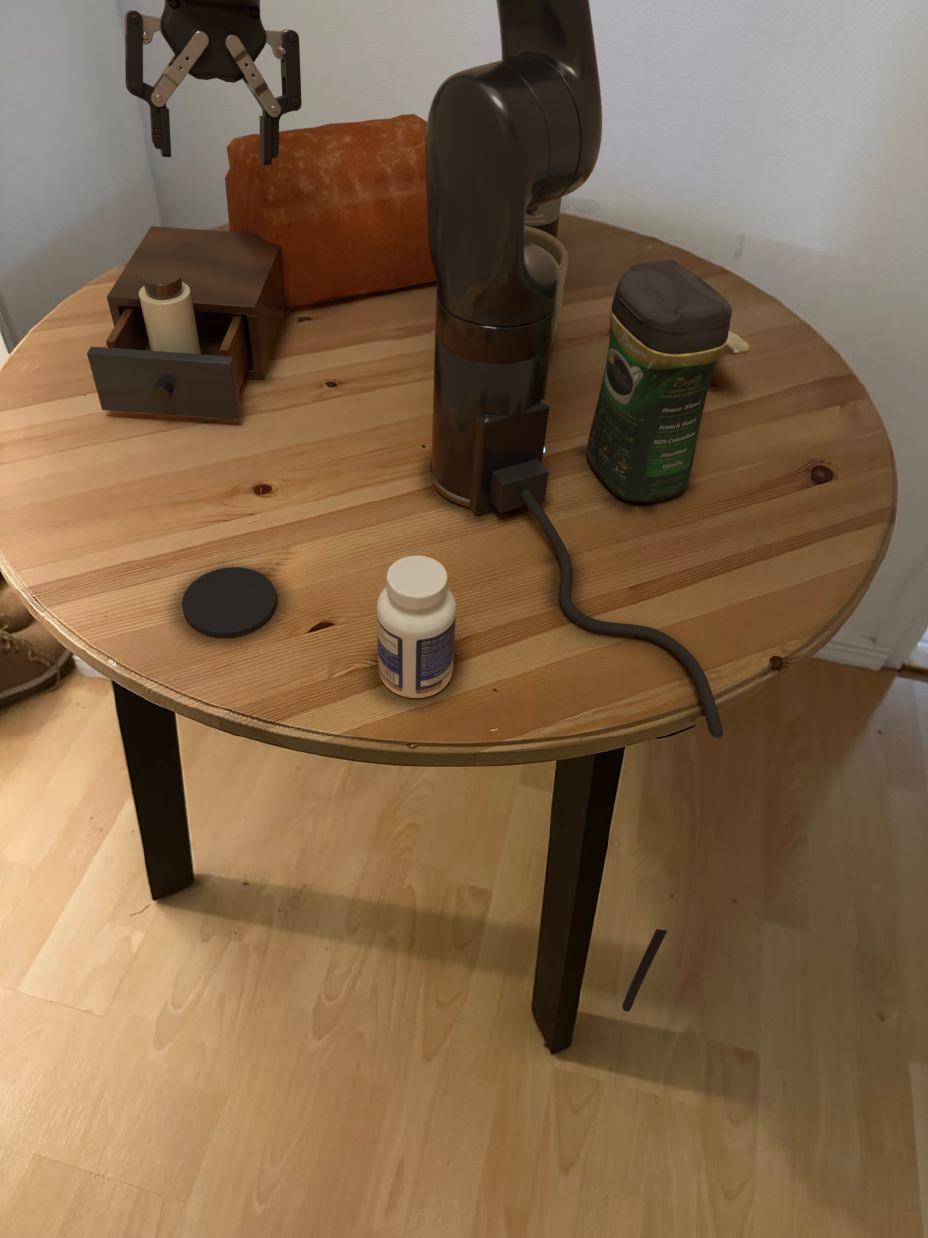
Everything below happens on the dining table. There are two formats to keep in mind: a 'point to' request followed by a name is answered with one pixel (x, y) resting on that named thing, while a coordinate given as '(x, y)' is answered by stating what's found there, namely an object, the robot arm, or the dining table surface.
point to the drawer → (173, 368)
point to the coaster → (229, 602)
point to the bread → (337, 206)
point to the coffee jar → (656, 380)
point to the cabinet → (215, 280)
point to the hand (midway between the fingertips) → (217, 159)
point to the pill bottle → (416, 628)
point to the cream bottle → (168, 312)
